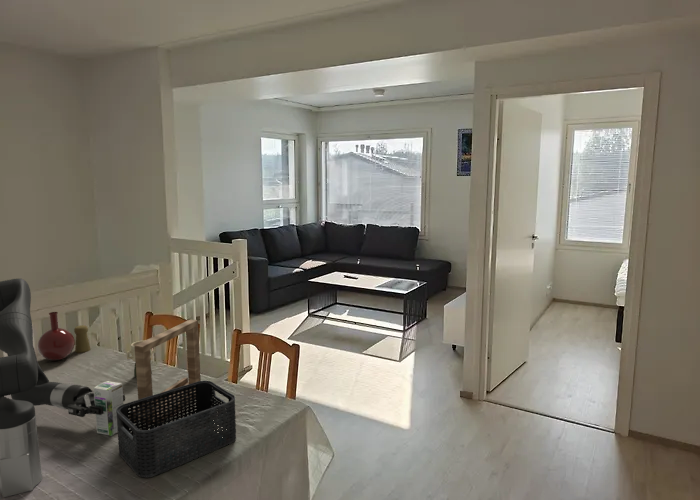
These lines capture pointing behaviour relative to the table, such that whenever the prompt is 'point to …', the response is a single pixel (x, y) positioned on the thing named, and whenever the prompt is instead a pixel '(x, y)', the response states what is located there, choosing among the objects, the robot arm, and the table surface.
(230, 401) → the storage bin
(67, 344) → the round-bottom flask
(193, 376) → the wooden frame stand
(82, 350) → the cork
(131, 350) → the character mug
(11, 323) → the robot arm
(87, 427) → the table surface
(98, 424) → the syrup box
